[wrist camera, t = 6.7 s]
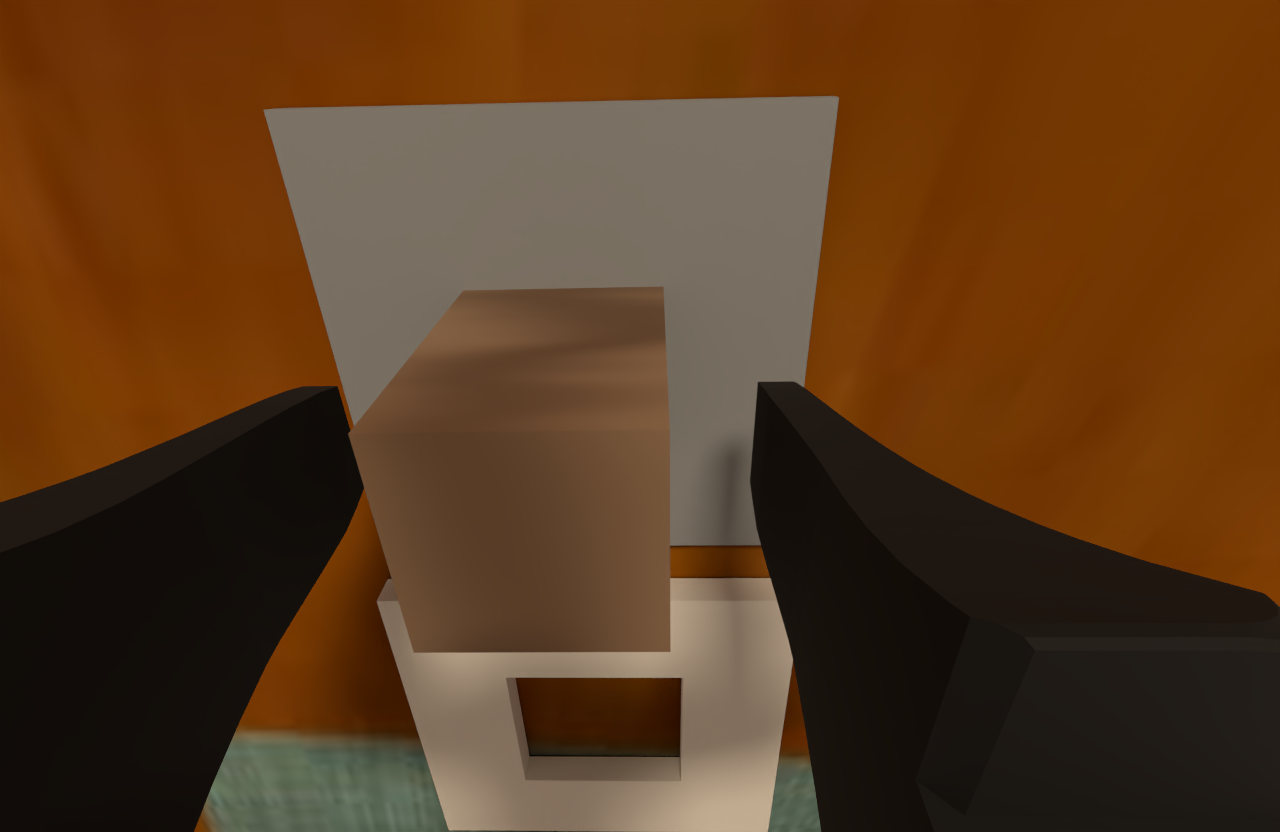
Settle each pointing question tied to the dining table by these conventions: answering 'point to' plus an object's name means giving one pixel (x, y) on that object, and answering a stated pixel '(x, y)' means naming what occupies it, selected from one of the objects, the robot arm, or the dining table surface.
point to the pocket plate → (612, 786)
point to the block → (528, 474)
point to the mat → (579, 244)
